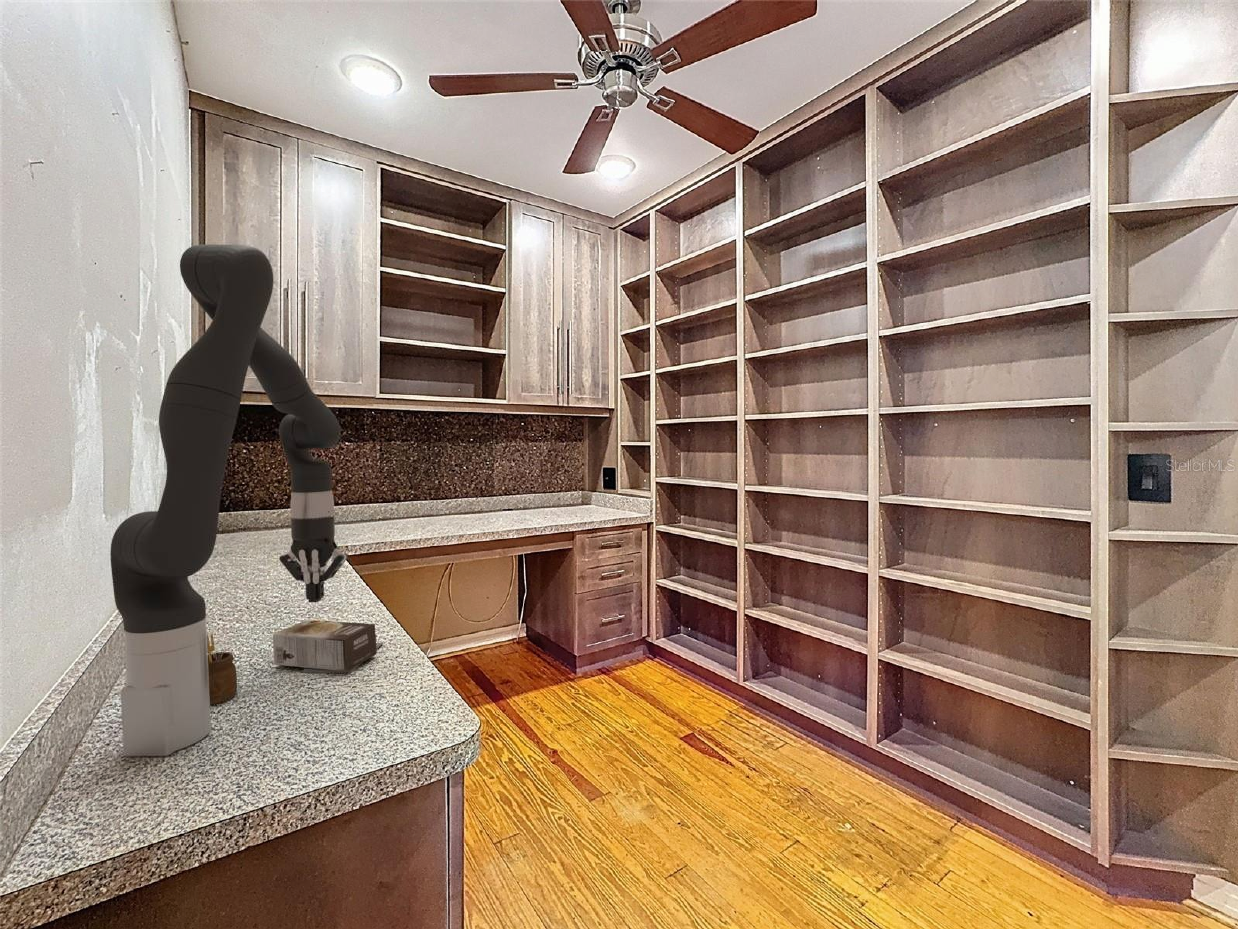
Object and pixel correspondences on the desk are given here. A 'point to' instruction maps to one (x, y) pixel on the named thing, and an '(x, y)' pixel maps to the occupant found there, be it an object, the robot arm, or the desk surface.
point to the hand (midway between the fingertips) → (315, 601)
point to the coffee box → (325, 645)
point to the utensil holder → (220, 673)
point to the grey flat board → (314, 670)
